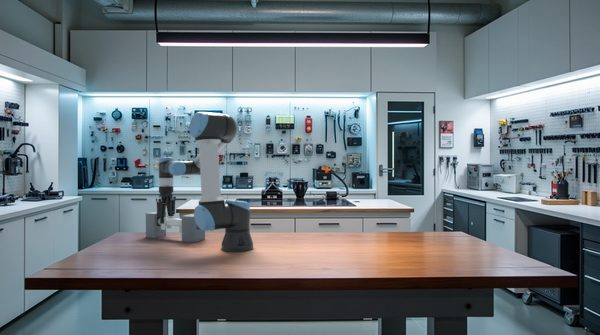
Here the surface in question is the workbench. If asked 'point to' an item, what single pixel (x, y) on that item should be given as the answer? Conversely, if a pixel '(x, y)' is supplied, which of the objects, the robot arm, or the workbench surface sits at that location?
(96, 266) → the workbench surface
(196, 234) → the sleeve
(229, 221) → the robot arm
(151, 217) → the socket block
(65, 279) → the workbench surface
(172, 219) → the tube
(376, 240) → the workbench surface
